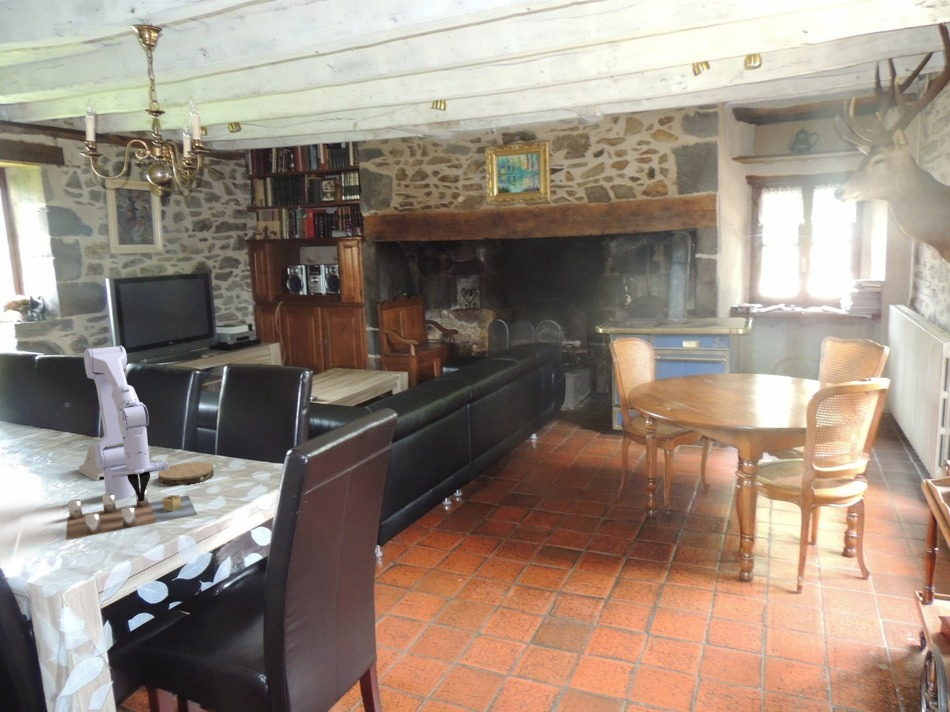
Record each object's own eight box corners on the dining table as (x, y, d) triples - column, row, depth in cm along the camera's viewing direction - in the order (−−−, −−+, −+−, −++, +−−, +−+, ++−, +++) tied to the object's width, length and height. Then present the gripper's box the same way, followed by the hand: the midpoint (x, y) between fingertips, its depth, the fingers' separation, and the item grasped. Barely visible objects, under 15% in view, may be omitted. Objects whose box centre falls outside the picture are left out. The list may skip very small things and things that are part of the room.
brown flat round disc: (148, 483, 211) (147, 473, 211) (190, 468, 225) (189, 459, 225) (183, 490, 204) (182, 480, 204) (224, 474, 218) (224, 465, 217)
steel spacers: (69, 516, 181) (67, 500, 181) (148, 502, 191) (146, 487, 190) (68, 538, 167) (66, 521, 166) (153, 522, 176) (152, 505, 175)
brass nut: (162, 507, 187) (161, 496, 186) (179, 504, 189) (178, 493, 189) (164, 513, 183) (163, 502, 182) (181, 509, 185) (180, 499, 184)
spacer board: (68, 519, 182) (67, 516, 182) (188, 497, 196) (188, 495, 196) (66, 543, 166) (66, 540, 166) (197, 517, 181) (197, 514, 181)
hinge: (77, 471, 224) (85, 441, 226) (92, 472, 228) (100, 443, 229) (97, 481, 213) (105, 449, 215) (112, 482, 217) (120, 451, 218)
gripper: (105, 459, 173) (111, 510, 175) (167, 450, 180) (172, 499, 182) (104, 452, 179) (110, 502, 181) (165, 444, 186) (169, 491, 188)
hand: (141, 500), depth 182 cm, fingers closed
